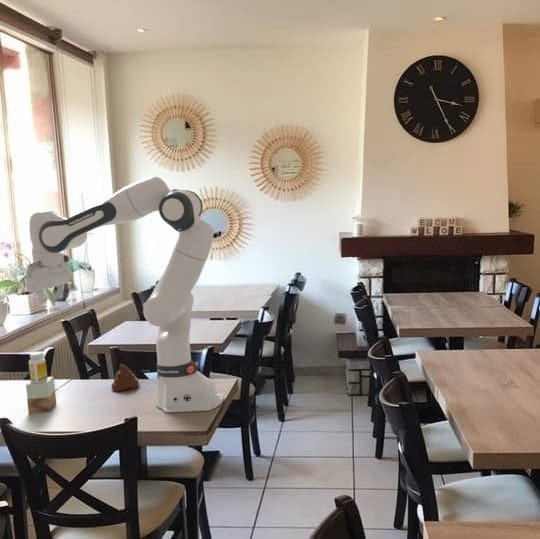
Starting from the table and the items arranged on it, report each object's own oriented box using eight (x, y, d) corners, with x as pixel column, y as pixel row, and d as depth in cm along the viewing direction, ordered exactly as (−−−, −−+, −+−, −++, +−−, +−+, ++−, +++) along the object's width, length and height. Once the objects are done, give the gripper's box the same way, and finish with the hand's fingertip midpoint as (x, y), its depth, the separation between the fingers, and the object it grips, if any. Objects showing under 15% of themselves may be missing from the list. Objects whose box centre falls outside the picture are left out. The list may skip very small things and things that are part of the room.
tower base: (56, 404, 202) (55, 390, 201) (49, 411, 195) (47, 397, 194) (36, 405, 201) (34, 392, 201) (28, 413, 194) (27, 399, 194)
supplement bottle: (28, 384, 194) (25, 356, 193) (33, 379, 199) (30, 352, 198) (45, 382, 194) (42, 354, 193) (49, 377, 200) (46, 350, 199)
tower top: (54, 390, 201) (53, 376, 201) (48, 397, 194) (47, 382, 194) (34, 392, 201) (32, 378, 200) (27, 399, 194) (25, 384, 193)
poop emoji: (113, 393, 209) (111, 368, 208) (110, 387, 217) (107, 363, 216) (141, 388, 213) (138, 364, 212) (136, 382, 221) (134, 358, 220)
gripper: (35, 263, 182) (40, 306, 184) (72, 256, 202) (76, 295, 204) (18, 264, 184) (23, 306, 186) (56, 256, 204) (60, 295, 205)
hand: (51, 300), depth 195 cm, fingers open, 8 cm apart
